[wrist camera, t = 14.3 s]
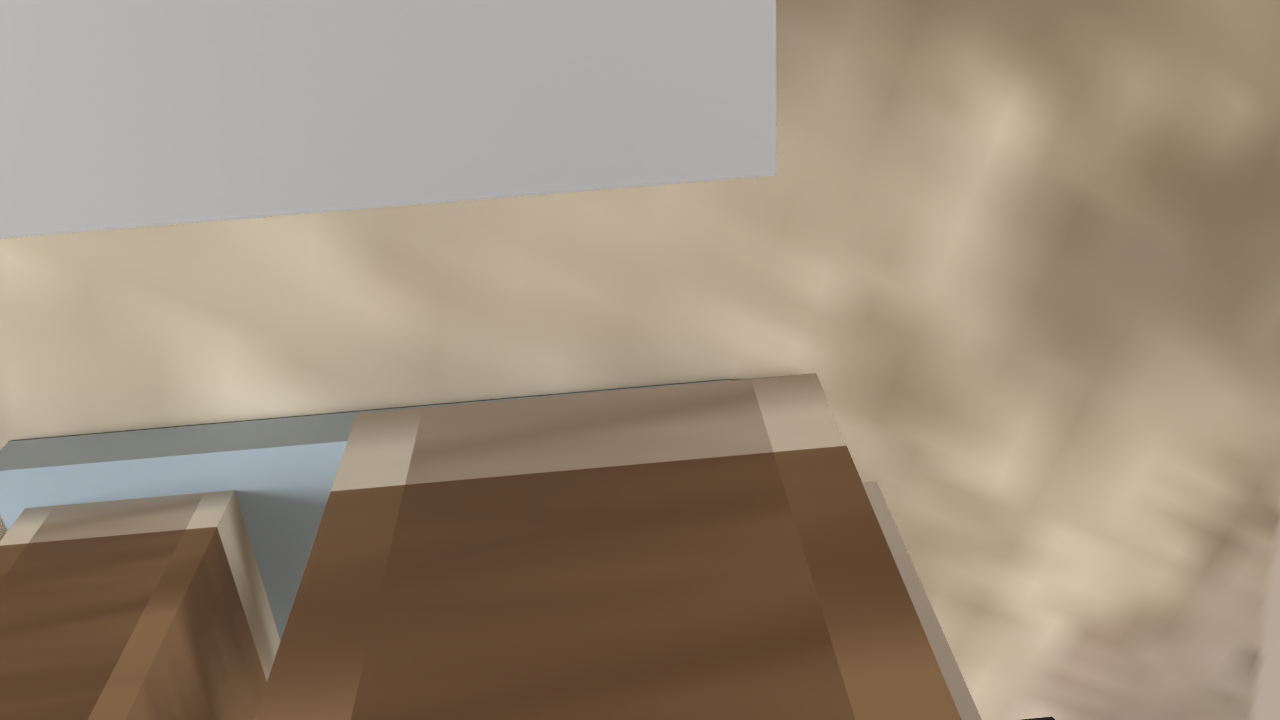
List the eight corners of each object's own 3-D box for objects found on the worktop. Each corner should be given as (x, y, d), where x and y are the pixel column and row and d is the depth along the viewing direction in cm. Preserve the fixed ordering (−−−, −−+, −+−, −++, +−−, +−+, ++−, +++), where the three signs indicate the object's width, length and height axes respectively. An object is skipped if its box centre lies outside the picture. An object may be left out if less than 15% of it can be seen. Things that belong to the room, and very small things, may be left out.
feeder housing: (-168, -92, 22) (-945, 38, 11) (670, -154, 23) (775, -92, 11) (-105, 64, 24) (-728, 322, 13) (678, 3, 24) (776, 199, 13)
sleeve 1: (25, 508, 28) (-155, 746, 21) (234, 490, 28) (124, 720, 21) (90, 661, 31) (-50, 918, 24) (281, 644, 31) (197, 894, 24)
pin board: (8, 441, 29) (-104, 572, 24) (730, 379, 29) (762, 496, 25) (98, 656, 33) (18, 805, 28) (736, 598, 33) (764, 736, 28)
